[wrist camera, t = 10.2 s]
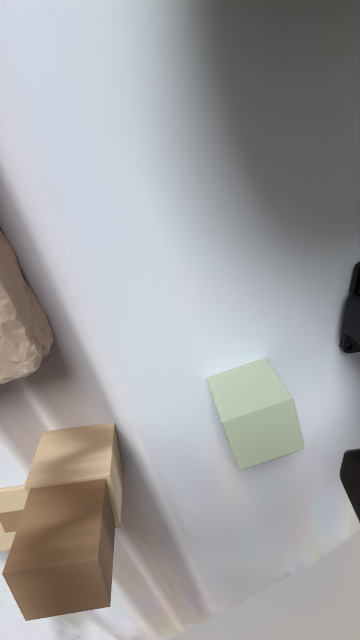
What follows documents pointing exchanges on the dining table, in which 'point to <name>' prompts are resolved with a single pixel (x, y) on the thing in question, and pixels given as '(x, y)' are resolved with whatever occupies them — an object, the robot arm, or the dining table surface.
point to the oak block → (79, 461)
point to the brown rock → (20, 321)
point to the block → (256, 413)
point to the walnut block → (63, 550)
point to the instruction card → (10, 513)
